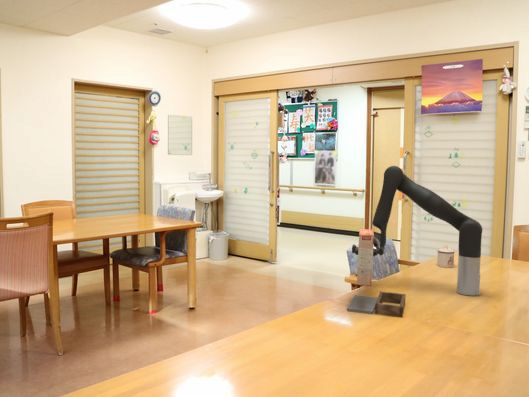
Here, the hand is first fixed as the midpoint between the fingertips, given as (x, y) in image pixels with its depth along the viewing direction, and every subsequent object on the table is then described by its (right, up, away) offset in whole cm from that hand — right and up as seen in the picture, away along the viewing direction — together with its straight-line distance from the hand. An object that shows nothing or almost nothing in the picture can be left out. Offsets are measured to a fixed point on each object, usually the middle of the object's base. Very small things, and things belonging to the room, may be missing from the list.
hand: (365, 253), depth 200 cm
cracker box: (0, -12, 0) cm, 12 cm away
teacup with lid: (+61, -16, +75) cm, 98 cm away
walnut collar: (+10, -22, -3) cm, 24 cm away
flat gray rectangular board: (-1, -22, +1) cm, 22 cm away
